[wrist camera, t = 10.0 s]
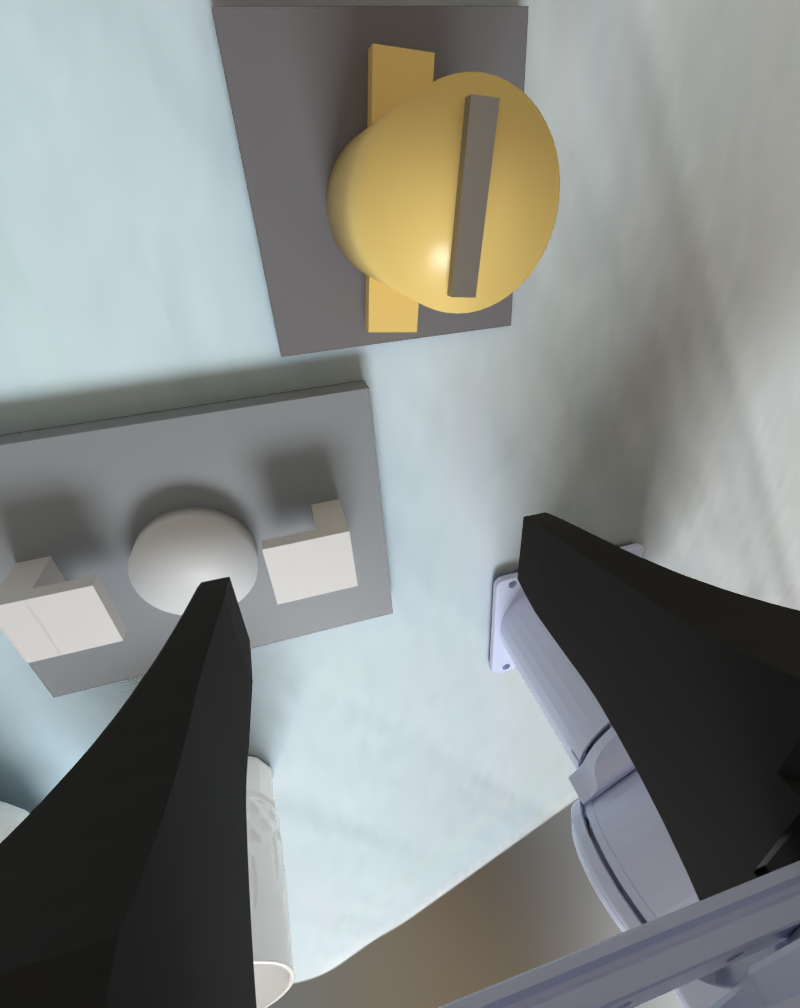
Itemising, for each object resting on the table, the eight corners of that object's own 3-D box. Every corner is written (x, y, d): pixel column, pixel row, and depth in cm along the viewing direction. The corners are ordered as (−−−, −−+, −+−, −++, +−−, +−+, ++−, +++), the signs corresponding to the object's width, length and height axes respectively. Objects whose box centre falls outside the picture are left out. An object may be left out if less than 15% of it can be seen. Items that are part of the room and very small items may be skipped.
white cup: (220, 832, 32) (210, 1044, 24) (116, 802, 28) (61, 1048, 20) (308, 770, 31) (329, 968, 23) (214, 728, 27) (200, 954, 19)
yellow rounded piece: (444, 328, 18) (532, 380, 13) (329, 329, 17) (368, 385, 11) (469, 64, 14) (611, -32, 9) (322, 42, 13) (376, -83, 8)
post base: (363, 380, 19) (384, 410, 16) (388, 600, 25) (406, 649, 23) (-101, 450, 16) (-177, 503, 13) (61, 679, 22) (33, 748, 20)
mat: (518, 13, 14) (528, 6, 14) (504, 322, 19) (510, 325, 19) (212, 14, 13) (211, 5, 12) (280, 352, 18) (281, 356, 17)
